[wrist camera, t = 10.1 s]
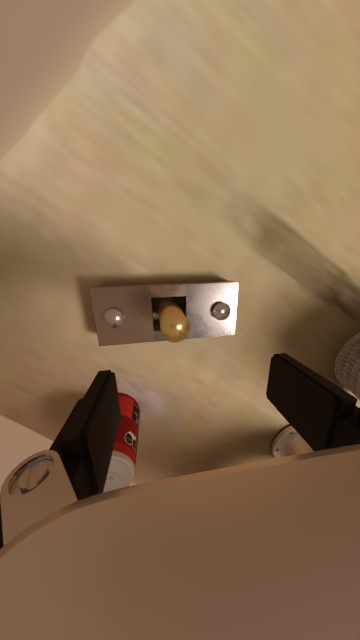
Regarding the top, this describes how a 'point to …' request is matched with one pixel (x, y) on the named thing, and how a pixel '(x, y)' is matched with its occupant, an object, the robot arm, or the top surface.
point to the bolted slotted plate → (137, 314)
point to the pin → (172, 321)
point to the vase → (349, 365)
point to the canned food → (124, 446)
